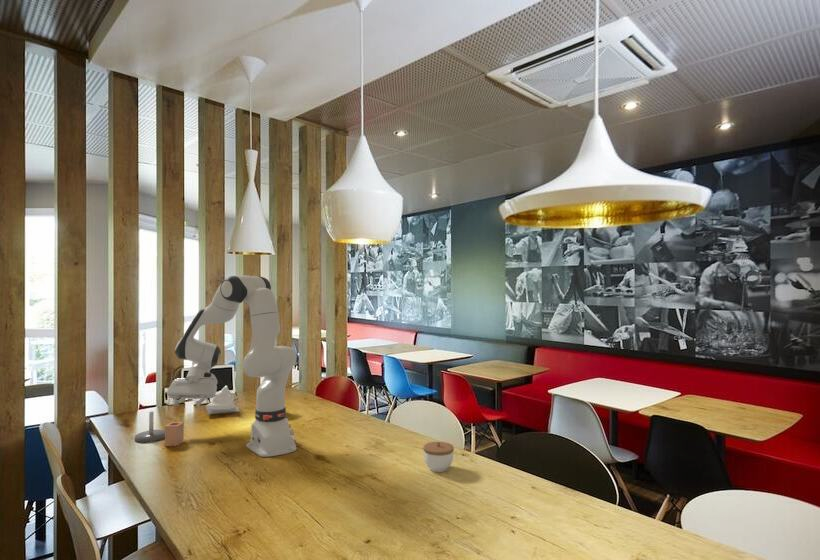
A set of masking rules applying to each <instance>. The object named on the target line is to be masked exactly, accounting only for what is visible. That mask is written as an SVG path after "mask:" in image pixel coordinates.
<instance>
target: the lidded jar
mask: <svg viewBox="0 0 820 560" xmlns="http://www.w3.org/2000/svg"><path fill="white" fill-rule="evenodd" d="M454 451H455V450H454V446H453V444H451V443H449V442H446V441H445V442H444V441H431V442H430V441H429V442H427V443H425V444H424V445H423V459H424V462H425V464H426V466H427V467H428V468H429V470H430V471H432V472H434V473H443V472H446V471H447V470H448V469H449V468H450V466H451V465H452V462H453V459H454Z"/></svg>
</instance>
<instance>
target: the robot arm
mask: <svg viewBox="0 0 820 560" xmlns="http://www.w3.org/2000/svg"><path fill="white" fill-rule="evenodd" d="M243 302H245V303H246V304H247V305H248V308H249V316H250V324H251V343H250V347H249V350H248V352H247V353H246V355H245V356H244V358H243V360H242V370H243V372H244V373H245V374H246V376H248V377H250V378H263V379H262V382H261V383H260V384H261V385H260V384H259V385H260V386H259V385H258V388H257V389H256V406H255V407H256V409H255V411H254V419H255V420H254V421H253V423H252V424H251V427H250V442H247V443H246V448H247V449H248V450H250V451H252V452H253V453H254V454H256V455H257V456H259V457H261V458H262V457H263V458H265V457H267V458H269V457H276V456H280V455H281V456H282V455H286V454H289V453H293V452H296V451H297V445H296V441H295V438H294V435H295V433H294V432H295V431H294V429H290V428H291V427H292V425H291V424H289V419H288V418H287V410H286V409H287V407H286V406H285V403H286V401H285V400H286V399H285V398H286V396H285V395H286V385H287V382H288V378H289V376H290V373H291V370H292V369H293V367H294V366H295V365H296V363H297V358H298V357H297V353H296V350H294V348H293V347H291V346H285V345H277V346H276V345H275V344H276V343H275V342H276V339H277V336H278V335H279V334H280V333H281V323H280V318H279V310H278V309H279V308H278V305H277V301H276V298H275V295H274V292H273V291H272V285H271V282H270V280H268V278H266V277H264V276H259V275H255V276H254V275H244V274H243V275H230V276H227V277H225V278H224V279H223V280H222V281H221V283H220V285H219V286H218V288H217V289H216V292H215V293H214V295H213V298H212V300H211V302H210V303H209V305H207V306H206V307H202V308H201V309H200V310H198V312H197V313H196V315H195V317H194V318H193V319H192V321H191V323H190V324H189V326H188V328H187V329H186V331H185V333H184V334H183V335H182V337H181V338H180V340H178V341H177V342H176V345H175V348H174V354H175V356H176V357H177V359H179V360H184V361H190V362H192V364H191V367H189V370H188V372H187V375H186V376H185V377H181V378H180V377H178V378H176V379H173V380H172V382H171V384H170V385H169V387H168V389H167V391H166V395H167V396H168V398H170V399H173V404H172V405H173V407H177V408H178V407H179V404H180V402H179V401H178V400H179V399H199V400H196V401H195V406H196V407H199V408H200V406H201V404H203V402H205V401H206V399H214V398H215V397H216V394H217V389H218V386H217V385H218V383H219V382H218V379H217V377H216V375H215V374H213V373H211V372H210V371H211V370H212V369H213V368H214V367H215V366H217V364H218V361H219V359H220V356H221V353H222V351H221V348H220V347H219V346H218V345H217V344H215V343H211V342H207V341H204V340H199V339H197V338H195V335H197V332H198V330H199V329H200V328H201V327H202V326H204V325H205V326H206V325H209V324H211V325H213V324H214V325H215V324H218V325H219V324H224V323H228V322H230V321H232V319H234V317H235V315H236V314H237V312H238V309H239V306H240V304H242V303H243Z"/></svg>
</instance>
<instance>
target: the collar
mask: <svg viewBox="0 0 820 560" xmlns="http://www.w3.org/2000/svg"><path fill="white" fill-rule="evenodd" d="M184 424H185V422H183V421H178V422H177V421H173V422H171V421H170V422H169V423H168V424H166V425H165V426H164V430H165V438H164V447H177V446H176V445H178V446H179V445H181V444H182V443H184V442H185V441H184V440H185V439H184V435H185V434H184ZM183 441H184V442H183ZM180 443H181V444H180ZM172 445H173V446H172Z"/></svg>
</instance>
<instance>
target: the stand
mask: <svg viewBox="0 0 820 560" xmlns="http://www.w3.org/2000/svg"><path fill="white" fill-rule="evenodd" d="M154 414H155V413H154V411H152V410H151V411H149V413H148V417H149V418H148V424H149V425H148V430H145V431H142V432H139V433H136V434H135V435H134V442H136V443H139V442H143V443H142V444H144V443H145V444H146V443H147V442H148V443H154V441H155V442H159V441H161V439H162V440H164V439H165V429H154V423H155V422H154ZM163 438H164V439H163ZM158 440H159V441H158Z"/></svg>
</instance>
